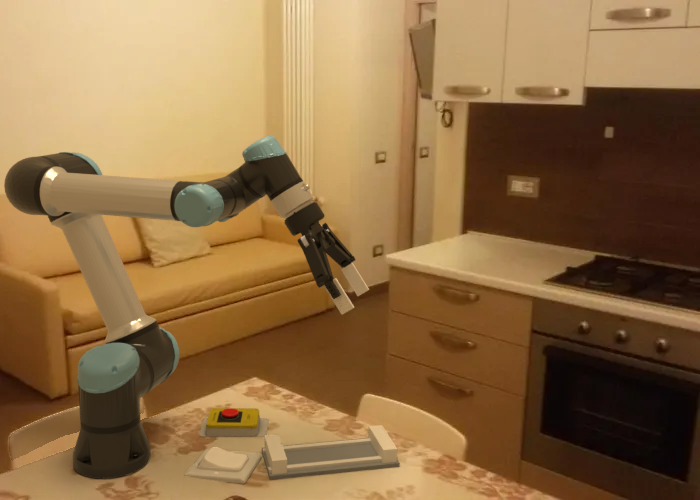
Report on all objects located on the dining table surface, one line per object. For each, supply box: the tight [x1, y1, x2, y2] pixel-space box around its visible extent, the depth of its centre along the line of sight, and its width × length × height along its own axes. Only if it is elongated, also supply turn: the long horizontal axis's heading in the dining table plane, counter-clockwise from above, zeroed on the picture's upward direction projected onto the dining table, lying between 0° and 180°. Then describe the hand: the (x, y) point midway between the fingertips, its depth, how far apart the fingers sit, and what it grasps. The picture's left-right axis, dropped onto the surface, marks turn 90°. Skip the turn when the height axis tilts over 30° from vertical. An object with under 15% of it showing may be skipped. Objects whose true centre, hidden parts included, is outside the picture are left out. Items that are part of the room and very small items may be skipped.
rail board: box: [261, 424, 400, 481], centre depth 156 cm, size 27×12×4 cm, turn 104°
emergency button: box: [198, 407, 270, 438], centre depth 169 cm, size 9×4×15 cm
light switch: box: [183, 446, 262, 485], centre depth 152 cm, size 11×4×13 cm
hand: (356, 301), depth 146 cm, fingers open, 13 cm apart
